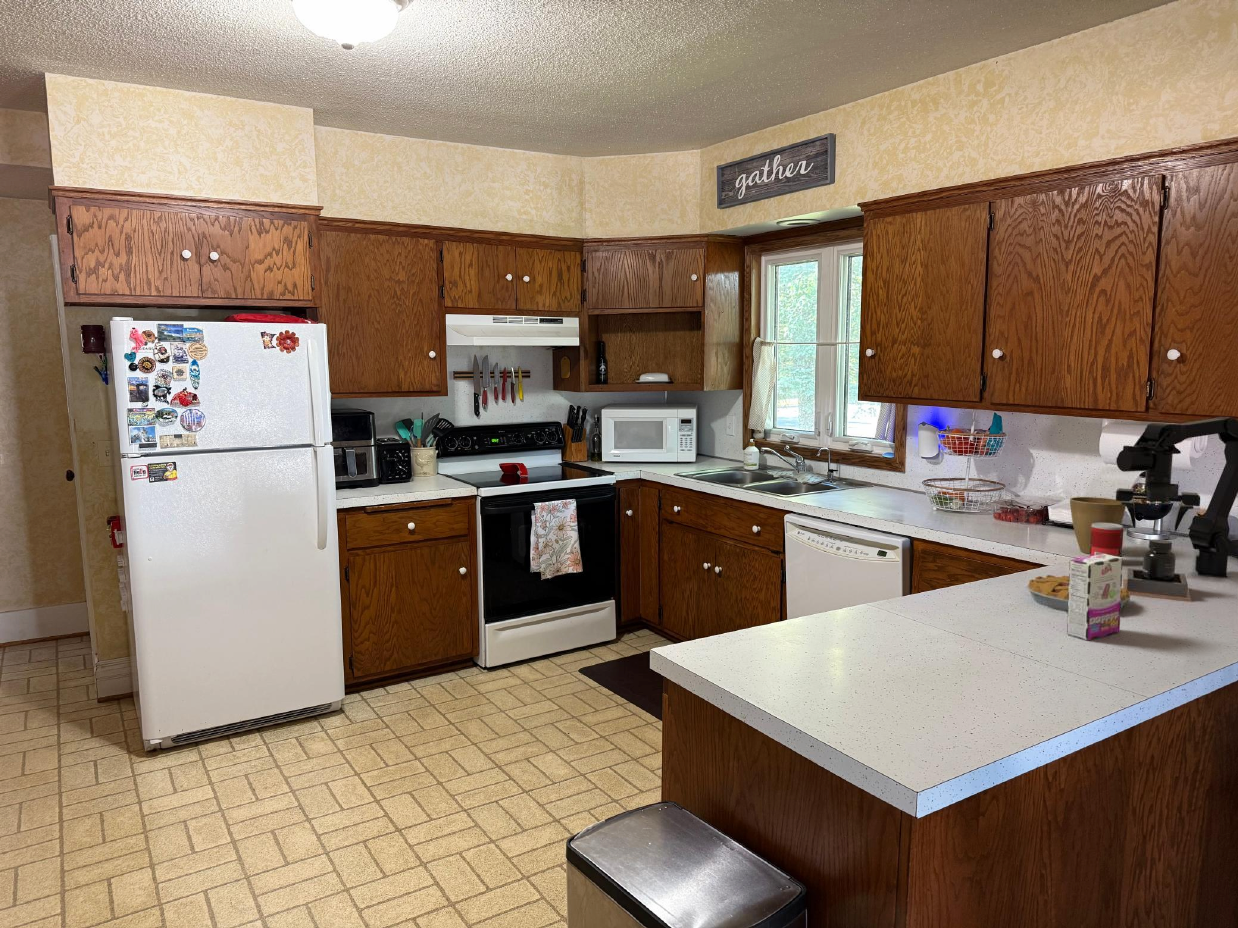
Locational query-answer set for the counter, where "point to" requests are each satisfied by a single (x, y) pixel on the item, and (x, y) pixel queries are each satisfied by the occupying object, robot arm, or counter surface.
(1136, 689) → the counter surface
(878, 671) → the counter surface
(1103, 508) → the plant pot
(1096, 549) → the canned food
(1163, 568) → the supplement bottle
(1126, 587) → the grey square tray
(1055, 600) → the pie
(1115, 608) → the candy bar box
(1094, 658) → the counter surface
